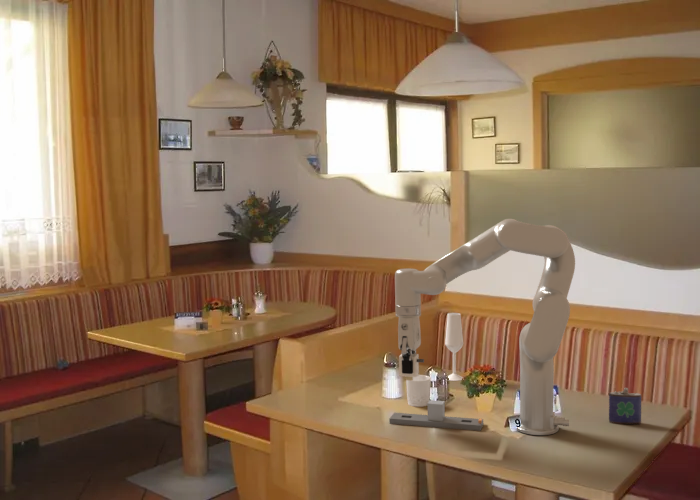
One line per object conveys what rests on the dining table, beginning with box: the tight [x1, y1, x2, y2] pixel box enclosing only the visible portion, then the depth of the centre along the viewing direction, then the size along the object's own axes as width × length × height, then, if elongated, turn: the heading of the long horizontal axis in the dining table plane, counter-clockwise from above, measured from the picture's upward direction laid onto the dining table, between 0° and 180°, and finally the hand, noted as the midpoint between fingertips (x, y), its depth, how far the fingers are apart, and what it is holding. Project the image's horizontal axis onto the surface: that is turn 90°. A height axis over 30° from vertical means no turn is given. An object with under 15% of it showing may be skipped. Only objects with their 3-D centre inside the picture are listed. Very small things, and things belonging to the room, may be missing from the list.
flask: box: [608, 387, 642, 425], centre depth 236 cm, size 9×3×11 cm, turn 78°
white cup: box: [405, 374, 432, 408], centre depth 254 cm, size 8×8×10 cm
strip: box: [389, 412, 484, 432], centre depth 234 cm, size 27×6×4 cm, turn 73°
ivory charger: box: [398, 353, 425, 381], centre depth 234 cm, size 7×4×8 cm, turn 73°
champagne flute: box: [444, 312, 464, 382], centre depth 289 cm, size 7×7×24 cm
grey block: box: [427, 399, 446, 421], centre depth 234 cm, size 4×4×6 cm
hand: (409, 370), depth 235 cm, fingers closed on ivory charger, 4 cm apart
